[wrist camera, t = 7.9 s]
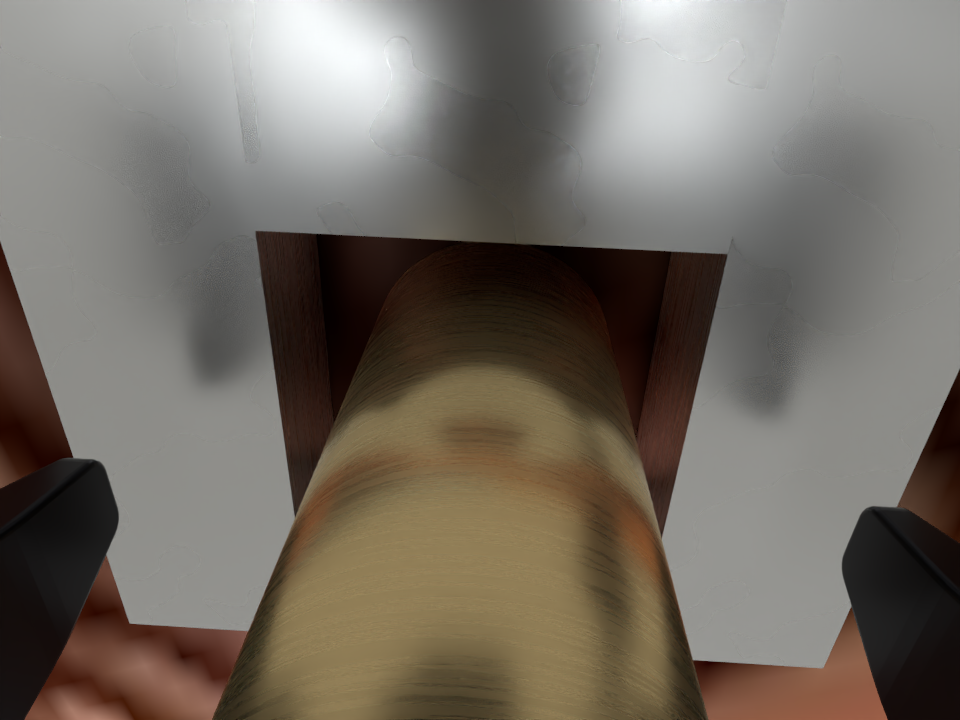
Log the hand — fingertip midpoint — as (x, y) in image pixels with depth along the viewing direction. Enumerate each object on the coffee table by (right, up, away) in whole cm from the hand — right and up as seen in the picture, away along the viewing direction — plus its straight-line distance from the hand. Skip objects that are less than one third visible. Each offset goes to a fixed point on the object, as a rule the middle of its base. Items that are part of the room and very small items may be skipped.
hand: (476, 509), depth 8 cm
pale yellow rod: (0, +2, +4) cm, 4 cm away
